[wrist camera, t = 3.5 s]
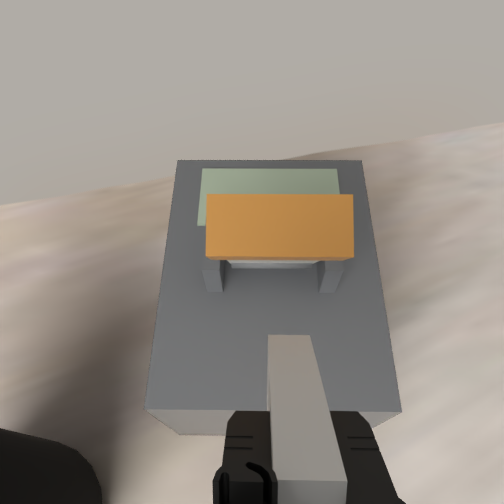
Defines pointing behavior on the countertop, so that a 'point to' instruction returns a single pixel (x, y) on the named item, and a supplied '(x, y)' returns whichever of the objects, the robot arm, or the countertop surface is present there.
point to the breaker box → (265, 306)
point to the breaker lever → (279, 229)
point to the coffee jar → (44, 472)
